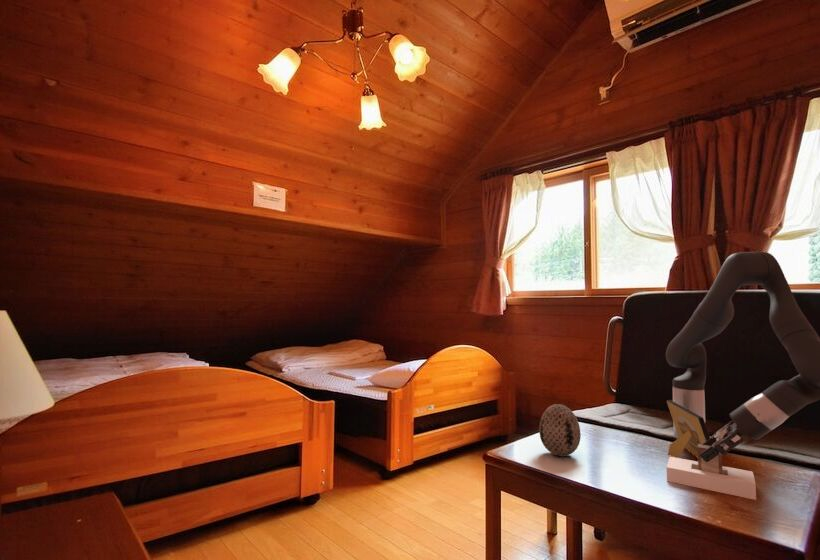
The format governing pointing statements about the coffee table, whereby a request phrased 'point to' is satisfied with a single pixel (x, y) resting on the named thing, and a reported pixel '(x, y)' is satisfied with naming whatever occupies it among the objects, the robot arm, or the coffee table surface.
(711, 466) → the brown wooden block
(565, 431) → the decorative egg
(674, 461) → the notch stand
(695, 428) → the picture frame
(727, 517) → the coffee table surface
